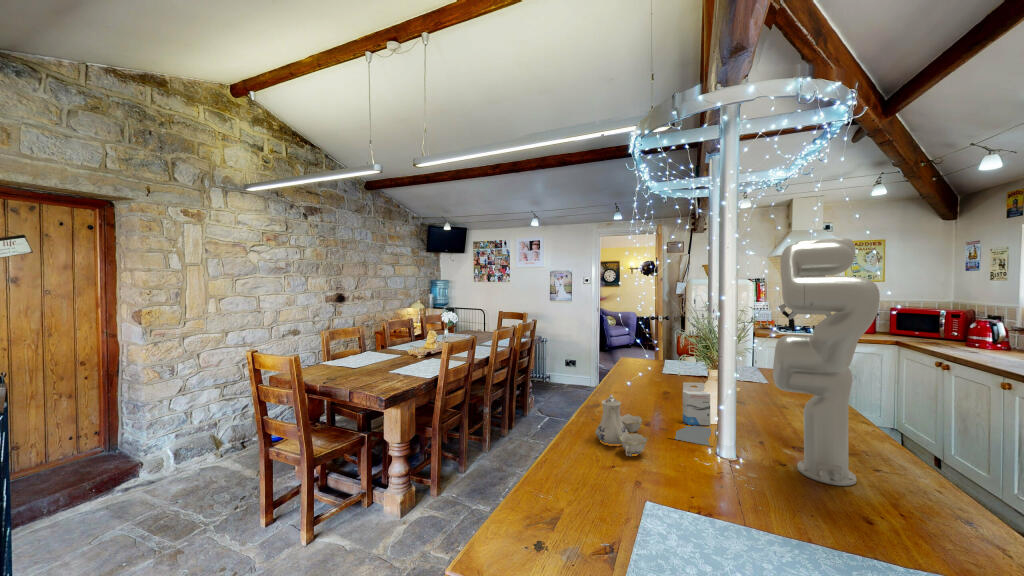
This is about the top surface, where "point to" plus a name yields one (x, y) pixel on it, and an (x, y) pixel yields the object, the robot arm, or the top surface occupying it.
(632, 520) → the top surface
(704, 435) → the mat
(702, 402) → the ink box
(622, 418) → the chinaware
